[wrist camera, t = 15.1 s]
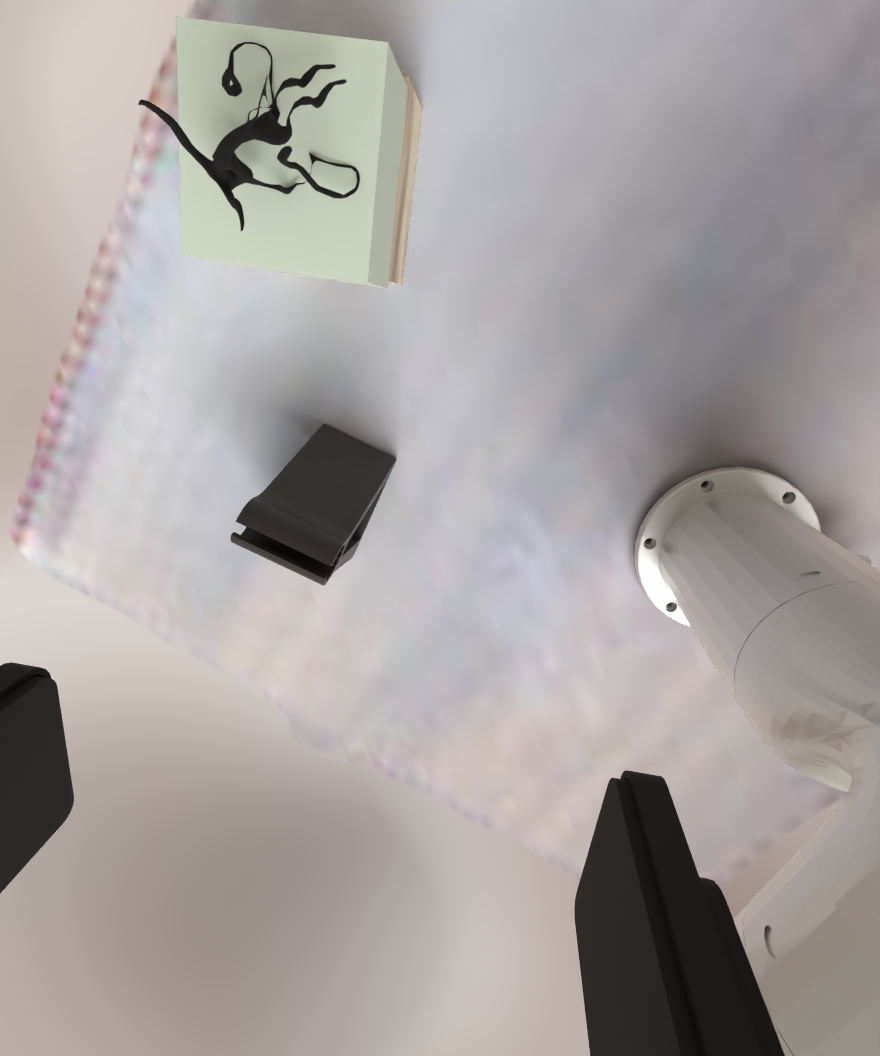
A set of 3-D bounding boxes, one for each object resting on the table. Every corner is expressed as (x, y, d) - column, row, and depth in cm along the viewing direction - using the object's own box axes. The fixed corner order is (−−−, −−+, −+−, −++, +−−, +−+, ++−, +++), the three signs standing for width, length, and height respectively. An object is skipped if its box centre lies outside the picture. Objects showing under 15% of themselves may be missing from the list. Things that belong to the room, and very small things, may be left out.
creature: (289, 17, 26) (163, 132, 27) (260, -82, 21) (104, 64, 21) (396, 166, 28) (275, 271, 28) (394, 107, 22) (245, 239, 23)
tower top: (407, 86, 30) (388, 42, 25) (387, 288, 33) (367, 282, 29) (227, 64, 30) (175, 16, 26) (226, 264, 34) (181, 254, 29)
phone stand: (325, 422, 41) (257, 458, 30) (397, 458, 42) (357, 507, 30) (285, 523, 45) (210, 590, 33) (353, 556, 45) (301, 633, 34)
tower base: (422, 110, 34) (409, 76, 30) (402, 285, 38) (387, 279, 33) (265, 88, 35) (228, 51, 30) (260, 263, 38) (226, 254, 34)
